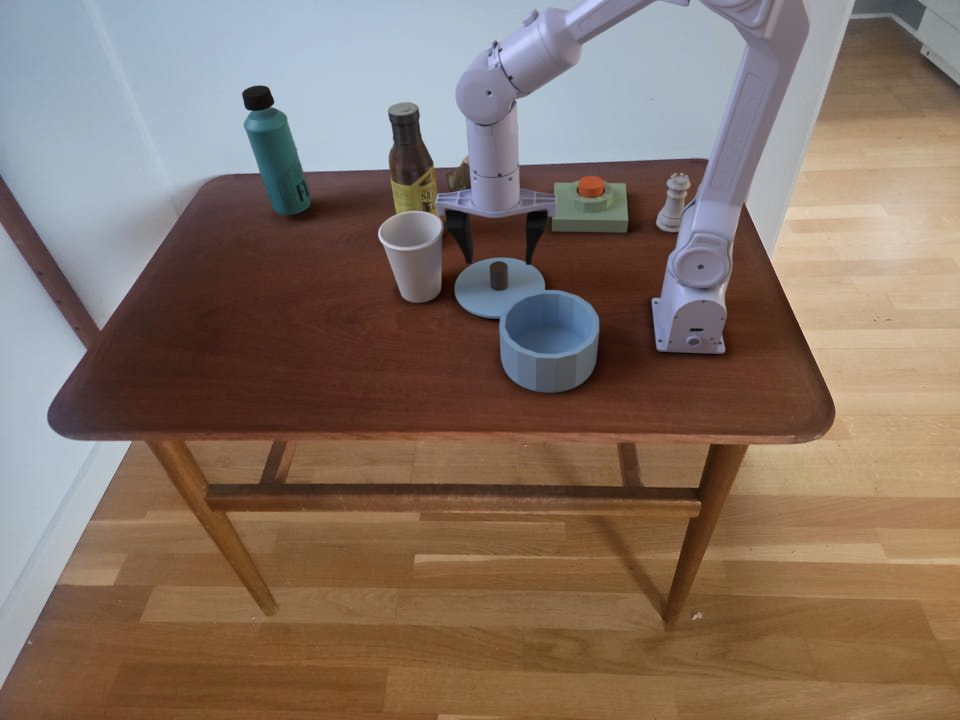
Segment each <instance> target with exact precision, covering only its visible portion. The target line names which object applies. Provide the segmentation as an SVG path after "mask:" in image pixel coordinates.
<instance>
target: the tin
mask: <svg viewBox="0 0 960 720" xmlns="http://www.w3.org/2000/svg"><path fill="white" fill-rule="evenodd" d="M498 326H499V327H498V328H499V329H498V330H499V348H500V361H501V364H502V368H503V370H504V372H505V373H506V375H507V376H508V377H509V378H510V379H511V380H512V381H513V382H514V383H515V384H517V385H519V386H521V387H522V388H524V389H527V390H530V391H532V392H537V393H545V394H547V393H549V394H554V393H561V392H566V391H569V390H572V389H575V388H577V387H578V386H580V385H581V384H583V383H584V382H585V381H587V379H588V378H589V377H590V376H591V375H592V373H593V371H594V369H595V366H596V364H597V356H598V348H599V347H598V346H599V339H600V338H599V337H600V317H599V315H598V313H597V312H596V310H595V308H594V307H593V306H592V304H591V303H589V302H588V301H587V300H585V299H583V298H582V297H580V296H579V295H577V294H574V293H570V292H567V291H564V290H560V289H558V290H557V289H552V290H551V289H545V290H539V291H535V292H531V293H527V294H524V295H522V296H520V297H518V298H517V299H515V300H513V301H512V302H510V303H509V304H508V306H507V307H506V308H505V310H504V311H503V312H502V314H501V318H500V319H499V325H498Z"/></svg>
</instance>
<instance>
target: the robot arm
mask: <svg viewBox="0 0 960 720" xmlns="http://www.w3.org/2000/svg"><path fill="white" fill-rule="evenodd" d="M659 1H661V2H664V3H668V4H673V5H677V6H680V7H689V6H690V2H691V0H580V1H579V2H578V3H576V4H575V5H574V6H572V7H571V8H570V9H564V8H558V7H552V6H550V7H547V8H545V9H544V10H542V11H540V12H539V11H538V10H537V8H532V10H531V11H529V12H528V13H526V14H525V15H524V17H523V18H522V19H521V22H522V25H521V27H519V28H518V29H516V30H515V31H513V33H511V34H509V35H508V36H507V37H505V38H504V39H503V40H501V41H500V42H498V40H496V39H495V40H493V41H491V42H490V43H489V44H487V46H486V47H485V50H483V51H482V52H480V53H479V54H478V55H477V56H476V57H475V58H474V59H473V61H472V62H471V63H470V64H469V66H468V67H467V68H466V70H465V71H464V72H463V73H462V74H461V76H460V78H459V80H458V81H457V84H456V86H455V93H454V95H455V101H456V102H455V103H456V105H457V107H458V110H459V111H460V112H461V113H462V115H463V116H464V117H465V126H466V129H465V131H466V143H467V155H469V167H470V178H471V189H468V190H463V191H457V192H452V193H451V192H445V193H444V192H443V193H442V192H441V193H438V192H437V198H436V202H435V204H436V212H437V216H440V217H441V216H442V217H443V216H445V221H444V222H445V223H444V227H445V229H446V231H447V232H448V233H449V234H450V236H452V238H453V239H454V241H456V243H457V245H458V246H459V248H460V250H461V253H462V254H463V255H462V256H463V257H464V260H465V263H466V264H467V265H472V264H473V258H474V243H473V236H472V229H471V215H474V216H479V217H484V218H489V219H499V218H505V217H511V216H516V215H522V214H526V221H525V238H526V239H525V240H526V242H525V243H526V249H525V262H526V265H532V261H533V255H534V252H535V250H536V247H537V245H538V243H539V240H540V239H541V237H542V236H543V234H544V233H545V231H546V229H547V226H548V217H549V218H552V217H556V215H557V194H554V193H545V192H541V191H535V190H530V189H525V188H521V187H520V186H521V185H520V149H519V148H520V147H519V146H520V143H519V123H518V101H517V100H518V99H523V98H526V97H528V96H530V95H532V94H534V92H536V91H537V90H539V89H540V88H542V87H543V86H545V85H547V84H548V83H550V82H551V81H553V80H555V79H557V78H558V77H559V76H561V75H562V74H564V73H565V72H567V71H569V70H570V69H572V68H574V67H575V66H576V65H578V64H579V62H580V60H581V55H582V52H583V46H584V44H586V43H587V42H589V41H591V40H593V39H594V38H596V37H597V36H599V35H601V34H603V33H604V32H606V31H607V30H609V29H612V27H614V26H616V25H618V24H619V23H621V22H622V21H624V20H626V19H628V18H629V17H631V16H633V15H634V14H636V13H638V12H639V11H642V10H643V9H645V8H646V7H648V6H649V5H651V4H652V3H655V2H659ZM698 1H699V2H700V3H701V4H702V5H703V6H705V7H706V8H707V9H708V10H710V11H711V12H713V13H715V14H716V15H718V16H720V17H722V18H723V19H725V20H726V21H728V22H729V23H731V24H732V25H733V26H734V28H735V29H736V30H737V31H738V33H739V35H740V36H741V37H742V39H743V40H744V41H745V47H744V50H743V53H742V56H741V59H740V63H739V65H738V69H737V72H736V74H735V78H734V81H733V84H732V87H731V90H730V93H729V96H728V99H727V102H726V107H725V109H724V112H723V115H722V118H721V121H720V125H719V127H718V129H717V133H716V137H715V140H714V142H713V146H712V149H711V152H710V155H709V159H708V162H707V165H706V168H705V171H704V173H703V177H702V179H701V183H700V184H699V185H698V186H697V187H698V188H697V191H696V193H695V196H694V197H693V198H692V199H691V201H690V202H689V203H688V204H686V206H684V209H683V211H682V213H681V216H680V228H679V232H677V233H678V234H677V238H676V244H675V248H674V249H673V250H672V252H670V254H669V255H668V257H667V263H666V266H665V272H664V278H663V282H662V288H661V293H660V297H652V298H651V309H652V310H651V311H652V320H653V329H654V338H655V339H654V341H655V349H656V351H658V352H662V353H686V354H687V353H688V354H690V353H691V354H712V355H716V354H717V355H723V354H725V352H726V346H725V341H724V337H723V331H724V328H725V324H726V321H727V317H728V311H727V307H726V293H727V290H728V286H729V282H730V279H731V274H732V272H733V264H734V262H733V251H734V242H735V237H736V233H737V232H736V231H737V229H738V225H739V220H740V217H741V211H742V207H743V204H744V203H745V200H746V197H747V195H748V192H749V189H750V187H751V184H752V181H753V179H754V176H755V173H756V171H757V169H758V166H759V163H760V161H761V158H762V155H763V153H764V150H765V148H766V146H767V143H768V140H769V137H770V136H771V132H772V130H773V127H774V124H775V122H776V120H777V117H778V114H779V112H780V109H781V107H782V104H783V101H784V99H785V97H786V93H787V92H788V89H789V86H790V83H791V81H792V78H793V76H794V74H795V70H796V68H797V65H798V63H799V61H800V58H801V55H802V52H803V50H804V47H805V44H806V42H807V39H808V37H809V34H810V29H811V10H810V4H809V0H698Z"/></svg>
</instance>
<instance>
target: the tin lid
mask: <svg viewBox="0 0 960 720" xmlns="http://www.w3.org/2000/svg"><path fill="white" fill-rule="evenodd" d="M453 289H454V296H455V299H456V301H457V302H458V303H459V305H460V306H461V307H462V308H463V309H464V310H466V312H468V313H471V314H472V315H475V316H478V317H481V318H484V319H485V318H486V319H494V320H500V318H501V314H502V312H503V311H504V310H505V308H506V307H507V306H508V304H509V303H510V302H512V301H513V300H515V299H517V298H518V297H520V296H522V295H524V294H527V293H531V292H535V291H539V290H546V282H545V279H544V276H543V275H542V273H541V271H539V269H538V268H537V267H535V266H534V265H532V264H531V265H526V261H524V260H521V259H518V258H512V257H492V258H486V259H482V260H479V261H477V262H475V263H472V264H469V266H467V267H466V268H464V269H463V270H462V272H460V274H459V275H458V276H457V278H456V280H455V283H454V288H453Z"/></svg>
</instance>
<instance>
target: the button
mask: <svg viewBox="0 0 960 720" xmlns="http://www.w3.org/2000/svg"><path fill="white" fill-rule="evenodd" d="M579 180H580V181H579ZM579 180H578V181H579V191H578V193H579V195H580V196H582V197H585V198H596V197H599V196H601V195H602V194H603V184H604V182H603V181H604V179H602V178H601V177H599V176H596V175H587V176H583V177H581V178H580V179H579Z"/></svg>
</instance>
